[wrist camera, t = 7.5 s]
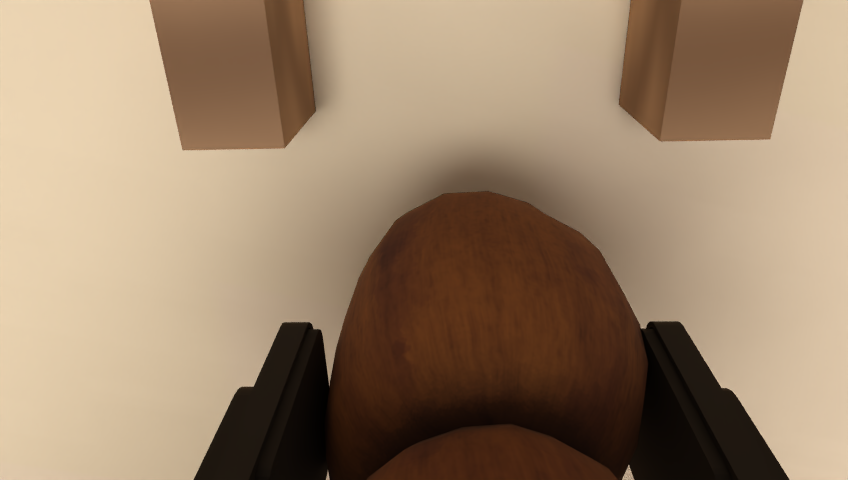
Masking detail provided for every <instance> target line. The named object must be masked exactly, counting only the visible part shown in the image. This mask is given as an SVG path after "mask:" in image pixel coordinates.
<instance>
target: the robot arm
mask: <svg viewBox="0 0 848 480" xmlns="http://www.w3.org/2000/svg"><path fill="white" fill-rule="evenodd" d="M640 330H641V333H642V337H643V341H644V346H645V350H646V354H647V359H648V371H647V379H646V387H645V396H644V404H643V410H642V417H641V424H640V431H639V438H638V444H637V448H636V450H635V452H634V454H633V456H632V458H631V461H630V463H629V466H630V469H631V471H632V474H633V477H634V480H789V478H788V477H787V475H786V473H785V472H784V470H783V469H782V467H781V466H780V464H779V462H778V461H777V459H776V458H775V456H774V455H773V453H772V451H771V450H770V448H769V447H768V445H767V444H766V442H765V440H764V439H763V437H762V436H761V434H760V433H759V431H758V429H757V428H756V426H755V425H754V423H753V422H752V420H751V418H750V417H749V415H748V414H747V412H746V411H745V409H744V407H743V406H742V404H741V403H740V401H739V400H738V398H737V397H736V395H735V394H734V393H733V392H732V391H731V390H729V389H727V388H721V387H720V385H719V383H718V382H717V380H716V379H715V377H714V375H713V374H712V372H711V370H710V369H709V367H708V366H707V364H706V362H705V361H704V359H703V357H702V356H701V354H700V352H699V351H698V349H697V348H696V346H695V344H694V343H693V341H692V339H691V338H690V336H689V335H688V333H687V331H686V330H685V328H684V326H683V325H682V324H681V323H680V322H678V321H674V322H649V323H648V324H647V327H646V329H640ZM328 394H329V381H328V374H327V366H326V359H325V351H324V343H323V336H322V332H321V330H320V329H313V326H312V324H311V323H310V322H284V323H282V325H281V327H280V329H279V331H278V333H277V336H276V338H275V340H274V342H273V345H272V347H271V349H270V351H269V354H268V356H267V358H266V360H265V363H264V365H263V367H262V369H261V372H260V374H259V376H258V378H257V381H256V383H255V385H254V387H241V388H239V389H238V390H237V392H236V393H235V395H234V397H233V399H232V401H231V403H230V405H229V407H228V409H227V412H226V414H225V416H224V418H223V420H222V422H221V424H220V426H219V428H218V430H217V432H216V434H215V436H214V439H213V441H212V443H211V445H210V447H209V449H208V451H207V453H206V455H205V457H204V459H203V461H202V464H201V466H200V468H199V470H198V472H197V474H196V476H195V478H194V480H326V476H327V472H328V466H327V460H326V447H325V426H324V421H325V414H326V407H327V400H328Z"/></svg>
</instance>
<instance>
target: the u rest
mask: <svg viewBox="0 0 848 480" xmlns="http://www.w3.org/2000/svg"><path fill="white" fill-rule="evenodd" d="M802 4H803V0H631V5H630V14H629V22H628V31H627V39H626V48H625V56H624V65H623V73H622V82H621V90H620V99H619V105H620V106H621V107H622V108H623V109H624V110H625V111H627V112H628V113H629V114H630V115H631V116H632V117H633V118H634V119H636V120H637V121H638V122H639V123H640V124H641V125H642V126H643V127H644V128H646V129H647V130H648V131H649V132H650V133H651V134H652V135H653V136H655V137H656V138H657V139H658V140H659V141H706V140H760V139H770V137H771V133H772V129H773V125H774V121H775V117H776V112H777V108H778V104H779V100H780V96H781V91H782V87H783V83H784V79H785V75H786V70H787V66H788V62H789V58H790V54H791V50H792V45H793V41H794V37H795V33H796V29H797V24H798V20H799V16H800V12H801V8H802ZM150 5H151V9H152V14H153V19H154V23H155V28H156V32H157V37H158V41H159V46H160V50H161V55H162V59H163V64H164V68H165V73H166V77H167V82H168V86H169V91H170V95H171V100H172V104H173V109H174V113H175V118H176V122H177V127H178V131H179V136H180V140H181V145H182V150H216V149H271V148H285V147H286V146H287V145H288V144H289V142H290V141H291V140H292V139H293V138H294V136H295V135H296V134H297V133H298V132H299V130H300V129H301V128H302V127H303V126H304V124H305V123H306V122H307V121H308V120H309V118H310V117H311V116H312V115H313V114H314V112H315V102H314V93H313V84H312V75H311V67H310V58H309V49H308V40H307V31H306V22H305V14H304V5H303V0H150Z"/></svg>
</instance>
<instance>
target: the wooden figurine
mask: <svg viewBox="0 0 848 480" xmlns="http://www.w3.org/2000/svg"><path fill="white" fill-rule="evenodd" d="M640 329H641V328H640V324H639V322H638V320H637V318H636V316H635V314H634V312H633V311H632V309H631V307H630V305H629V303H628V301H627V299H626V297H625V295H624V293H623V291H622V290H621V288H620V286H619V284H618V282H617V281H616V279H615V277H614V275H613V274H612V272H611V270H610V268H609V266H608V265H607V263H606V261H605V259H604V258H603V256H602V254H601V252H600V251H599V250H598V249H597V248H596V247H595V246H594V245H593V244H592V243H591V242H590V241H589V240H587V239H586V238H585V237H584V236H583V235H582V234H581V233H580V232H578V231H576V230H574V229H572V228H570V227H568V226H566V225H565V224H563V223H561V222H559V221H557V220H555V219H553V218H551V217H549V216H548V215H546V214H544V213H543V212H541V211H540V210H538V209H537V208H535V207H534V206H532V205H531V204H529V203H527V202H523V201H520V200H516V199H513V198H510V197H506V196H503V195H500V194H496V193H493V192H489V191H482V192H464V193H447V194H443V195H441V196H439V197H437V198H435V199H433V200H431V201H429V202H427V203H425V204H423V205H421V206H419V207H417V208H415V209H413V210H411V211H409V212H407V213H406V214H404V215H403V216H402V217H400V218H399V219H397V220H396V221H395V222H394V224H393V225H392V226H391V228H390V229H389V231H388V232H387V233H386V235H385V236H384V238H383V239H382V240H381V242H380V243H379V245H378V246H377V247H376V249H375V250H374V252H373V253H372V254H371V256H370V257H369V259H368V261H367V263H366V265H365V267H364V269H363V271H362V273H361V275H360V277H359V279H358V282H357V285H356V288H355V291H354V294H353V297H352V299H351V302H350V305H349V308H348V311H347V314H346V316H345V319H344V323H343V326H342V330H341V333H340V337H339V340H338V344H337V347H336V353H335V358H334V364H333V369H332V374H331V380H330V387H329V394H328V400H327V407H326V414H325V421H324V426H325V447H326V460H327V466H328V471H329V477H330V480H622V478H623V476H624V474H625V472H626V469H627V467H628V465H629V463H630V461H631V458H632V456H633V454H634V452H635V450H636V448H637V444H638V438H639V431H640V424H641V417H642V410H643V404H644V396H645V387H646V379H647V371H648V359H647V354H646V350H645V346H644V341H643V337H642V333H641V330H640Z"/></svg>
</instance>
